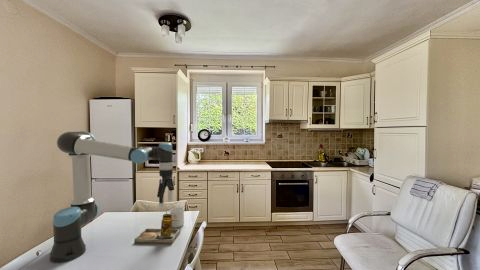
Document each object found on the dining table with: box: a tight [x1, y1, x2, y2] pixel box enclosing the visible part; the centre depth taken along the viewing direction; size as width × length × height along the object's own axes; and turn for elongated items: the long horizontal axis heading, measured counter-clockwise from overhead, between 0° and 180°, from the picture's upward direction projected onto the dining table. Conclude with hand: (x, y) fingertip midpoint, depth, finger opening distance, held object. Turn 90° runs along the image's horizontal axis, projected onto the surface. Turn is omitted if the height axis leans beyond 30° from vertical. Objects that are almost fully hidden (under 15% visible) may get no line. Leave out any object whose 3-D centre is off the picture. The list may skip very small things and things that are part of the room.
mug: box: [165, 206, 185, 229], centre depth 156 cm, size 12×9×11 cm
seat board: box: [134, 228, 181, 245], centre depth 138 cm, size 14×22×2 cm, turn 87°
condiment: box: [158, 213, 173, 238], centre depth 137 cm, size 7×8×12 cm
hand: (166, 204), depth 137 cm, fingers open, 13 cm apart
